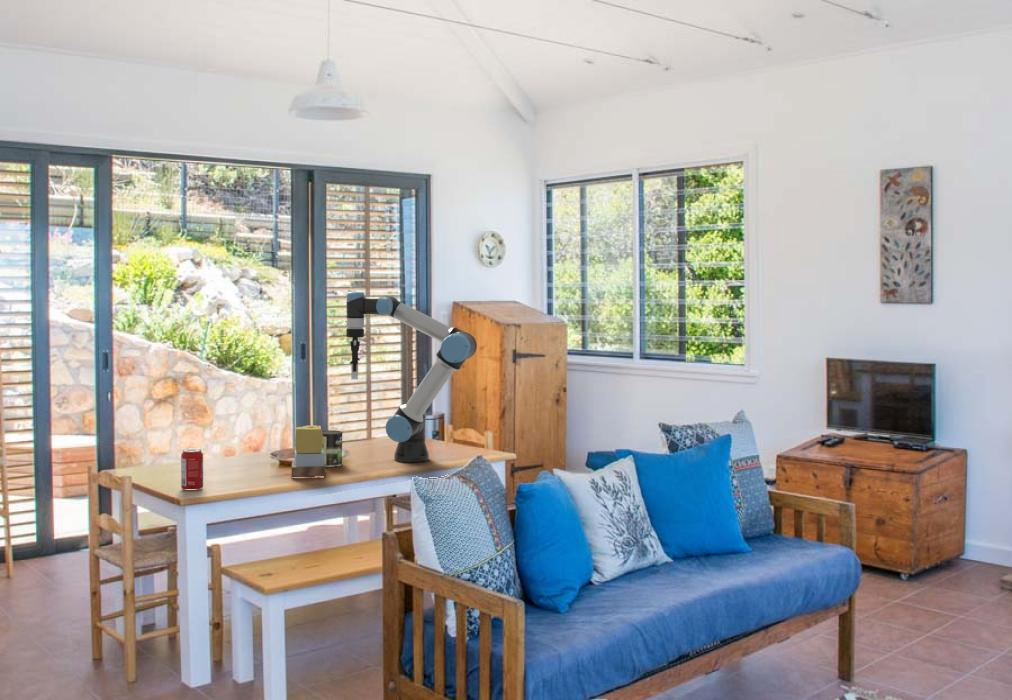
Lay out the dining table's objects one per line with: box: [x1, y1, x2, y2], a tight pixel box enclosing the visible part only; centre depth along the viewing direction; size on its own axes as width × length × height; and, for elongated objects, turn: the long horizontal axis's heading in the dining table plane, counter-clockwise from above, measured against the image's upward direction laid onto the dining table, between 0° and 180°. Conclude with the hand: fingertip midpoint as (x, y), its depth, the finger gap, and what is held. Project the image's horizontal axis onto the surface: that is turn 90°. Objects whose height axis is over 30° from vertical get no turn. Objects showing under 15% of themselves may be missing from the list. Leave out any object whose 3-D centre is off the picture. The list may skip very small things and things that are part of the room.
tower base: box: [291, 460, 326, 478], centre depth 410 cm, size 13×13×5 cm
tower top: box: [294, 449, 324, 467], centre depth 410 cm, size 11×11×5 cm
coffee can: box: [322, 429, 344, 468], centre depth 431 cm, size 10×10×14 cm
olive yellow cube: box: [294, 424, 323, 454], centre depth 409 cm, size 10×11×10 cm
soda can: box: [180, 448, 204, 490], centre depth 379 cm, size 8×8×15 cm
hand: (354, 377), depth 436 cm, fingers open, 13 cm apart
